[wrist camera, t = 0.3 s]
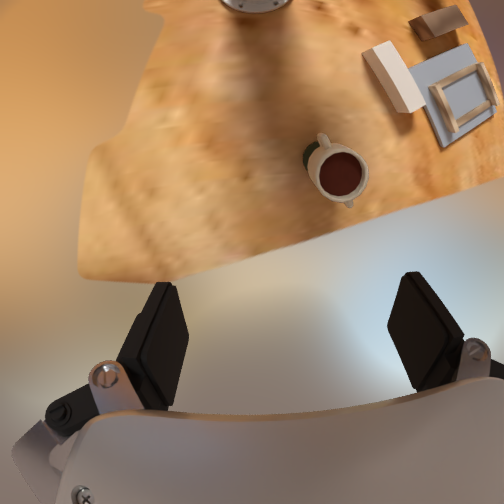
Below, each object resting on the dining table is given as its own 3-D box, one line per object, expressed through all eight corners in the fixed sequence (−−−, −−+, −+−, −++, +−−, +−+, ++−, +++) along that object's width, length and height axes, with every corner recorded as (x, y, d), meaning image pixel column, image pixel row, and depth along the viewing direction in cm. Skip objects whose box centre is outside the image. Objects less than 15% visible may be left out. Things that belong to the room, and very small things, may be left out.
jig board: (404, 70, 33) (407, 69, 32) (464, 43, 27) (467, 43, 26) (440, 146, 39) (443, 147, 38) (493, 111, 34) (496, 112, 32)
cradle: (427, 86, 33) (435, 86, 31) (475, 62, 28) (483, 62, 26) (448, 131, 37) (455, 133, 35) (492, 103, 32) (499, 104, 30)
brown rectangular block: (407, 21, 28) (420, 15, 24) (442, 9, 25) (455, 4, 20) (421, 41, 30) (435, 37, 26) (454, 27, 26) (468, 24, 22)
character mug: (350, 179, 44) (379, 204, 33) (313, 194, 46) (331, 224, 34) (327, 121, 39) (352, 125, 28) (287, 137, 41) (299, 146, 30)
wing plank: (360, 53, 33) (372, 48, 29) (377, 45, 32) (389, 40, 28) (396, 112, 38) (410, 113, 33) (411, 103, 37) (426, 104, 32)
